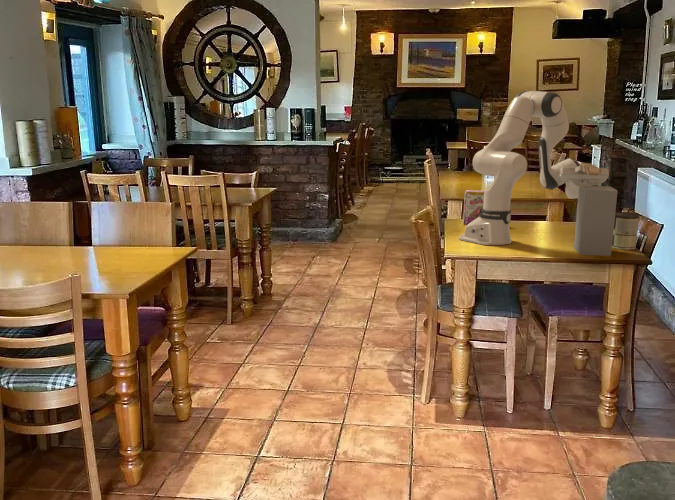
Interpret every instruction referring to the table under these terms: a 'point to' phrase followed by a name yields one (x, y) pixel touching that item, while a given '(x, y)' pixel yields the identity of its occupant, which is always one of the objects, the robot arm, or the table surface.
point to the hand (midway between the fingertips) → (587, 166)
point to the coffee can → (625, 230)
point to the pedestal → (595, 220)
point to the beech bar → (590, 169)
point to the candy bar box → (472, 205)
